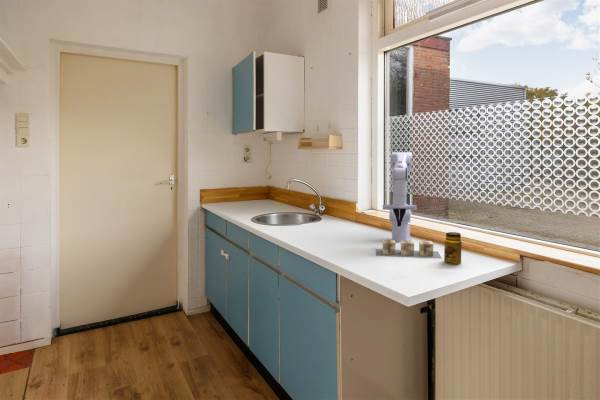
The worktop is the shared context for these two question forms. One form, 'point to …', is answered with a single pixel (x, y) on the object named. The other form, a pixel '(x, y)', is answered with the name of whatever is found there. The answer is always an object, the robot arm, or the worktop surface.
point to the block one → (389, 247)
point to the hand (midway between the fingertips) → (399, 225)
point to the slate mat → (416, 255)
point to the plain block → (407, 247)
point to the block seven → (425, 248)
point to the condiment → (452, 248)
